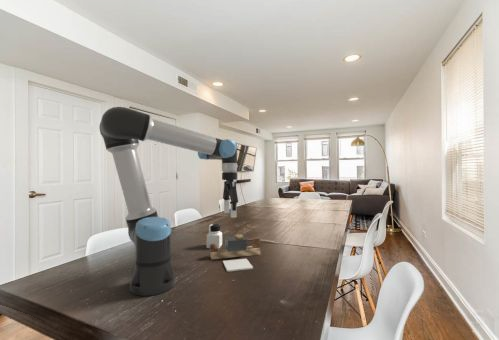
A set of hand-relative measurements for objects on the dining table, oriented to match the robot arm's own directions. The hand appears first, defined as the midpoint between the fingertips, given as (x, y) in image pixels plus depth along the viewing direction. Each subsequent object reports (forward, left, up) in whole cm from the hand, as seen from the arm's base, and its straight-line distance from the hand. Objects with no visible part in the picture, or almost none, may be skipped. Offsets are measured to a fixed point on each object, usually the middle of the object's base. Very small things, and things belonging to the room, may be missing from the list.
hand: (230, 215), depth 119 cm
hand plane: (-2, -2, -19) cm, 20 cm away
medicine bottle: (+15, +6, -20) cm, 26 cm away
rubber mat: (-15, 0, -19) cm, 24 cm away
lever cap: (-2, -2, -16) cm, 16 cm away
